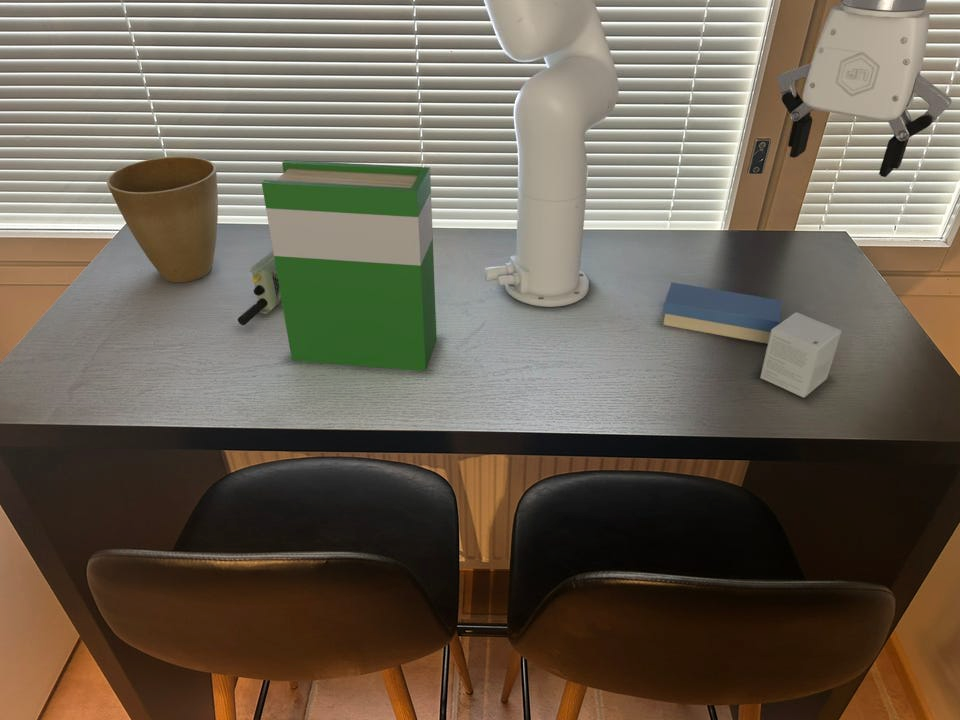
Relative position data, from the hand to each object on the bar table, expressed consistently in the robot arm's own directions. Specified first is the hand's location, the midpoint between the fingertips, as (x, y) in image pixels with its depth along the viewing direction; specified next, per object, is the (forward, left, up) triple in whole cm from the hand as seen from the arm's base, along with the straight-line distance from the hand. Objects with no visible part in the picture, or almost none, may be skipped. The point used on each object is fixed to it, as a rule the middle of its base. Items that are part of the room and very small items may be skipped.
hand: (840, 163), depth 84 cm
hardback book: (-53, +17, -26) cm, 61 cm away
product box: (-3, -5, -26) cm, 27 cm away
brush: (-5, +9, -26) cm, 28 cm away
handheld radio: (-61, +37, -26) cm, 76 cm away
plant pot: (-76, +47, -26) cm, 93 cm away
